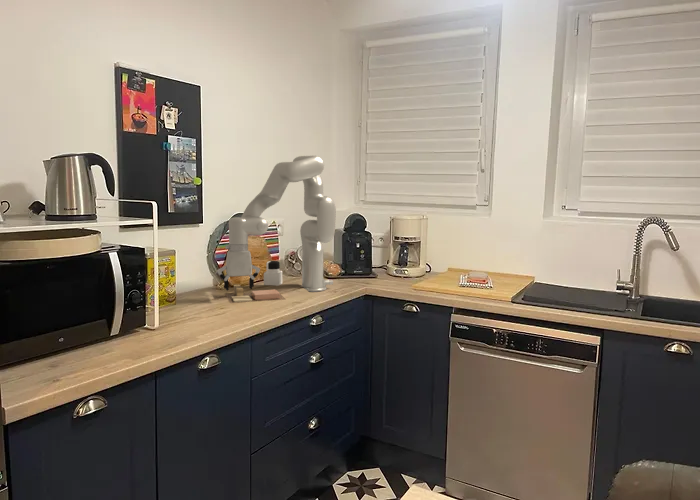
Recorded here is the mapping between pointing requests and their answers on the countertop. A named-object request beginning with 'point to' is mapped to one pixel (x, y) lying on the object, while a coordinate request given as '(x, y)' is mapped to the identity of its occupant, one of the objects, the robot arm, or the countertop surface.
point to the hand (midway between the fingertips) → (239, 289)
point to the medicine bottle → (273, 273)
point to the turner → (240, 295)
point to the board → (251, 298)
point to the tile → (265, 294)
